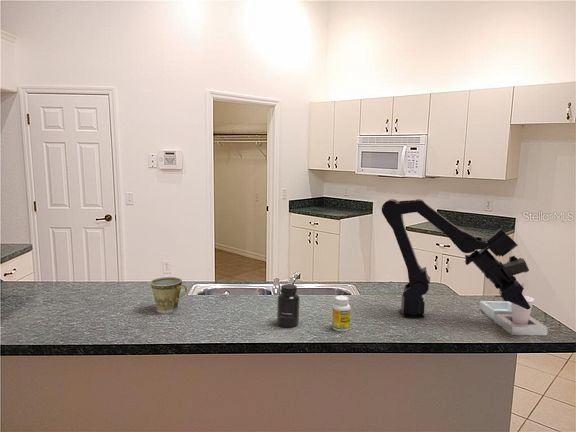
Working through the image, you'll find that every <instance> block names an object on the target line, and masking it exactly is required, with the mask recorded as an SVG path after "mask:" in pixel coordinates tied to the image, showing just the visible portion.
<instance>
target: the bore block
mask: <svg viewBox="0 0 576 432" xmlns="http://www.w3.org/2000/svg"><path fill="white" fill-rule="evenodd" d="M493 322H494V323H495V324H497V325H498V326H499V327H501V328H502V329H503V330H504V331H505V332H507V333H508V334H509V335H511V336H547V335H548V329H549V328H548V326H546V325H545V324H543V323H542V322H540V321H538V320H537V319H536V318H533V317H532V316H531V315H530V317H529V321H528V325H521V324H514V323H513V322H512V314H495V316H494V320H493Z"/></svg>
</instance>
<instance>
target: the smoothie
mask: <svg viewBox="0 0 576 432" xmlns="http://www.w3.org/2000/svg"><path fill="white" fill-rule="evenodd" d="M521 285H522V287H523V288H524V290H523V291H522V295H523V296H524V298H525V299H526V301H527V302H528V304H529V305H530V307H531V308H530V309H528V310H527V309H525V308H523V307H521V306H519V305H516V304H514V303H512V302H510V303H511V306H512V322H513V323H514V324H521V325H528V321H529V317H530V316H531V311H532V308H533V304H535V299H534V298H533V297H531V296H528V295H525V294H524V291H525V283H522V284H521Z"/></svg>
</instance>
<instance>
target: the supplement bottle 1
mask: <svg viewBox="0 0 576 432" xmlns="http://www.w3.org/2000/svg"><path fill="white" fill-rule="evenodd" d="M300 300H301V299H300V296H299V295H298V289H297V285H295V284H289V283H287V284H285V283H284V284H282V285H281V286H280V294H279V295H278V296H277V304H276V305H277V306H276V307H277V309H276V311H277V312H276V323H277V325H278V326H279V327H282V328H286V329H287V328H288V329H289V328H295V327H297V326H298V325H299V322H300V305H301V304H300V303H301V301H300Z"/></svg>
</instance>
